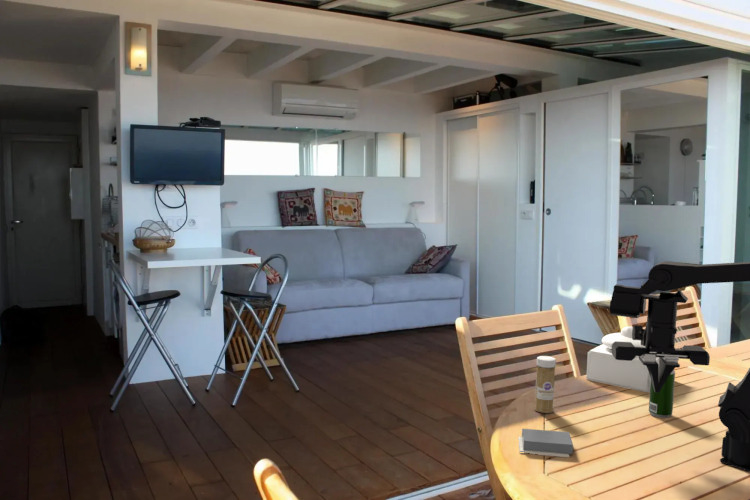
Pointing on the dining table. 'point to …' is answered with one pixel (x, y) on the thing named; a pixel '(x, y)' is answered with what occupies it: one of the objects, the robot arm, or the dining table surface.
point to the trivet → (539, 451)
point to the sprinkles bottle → (545, 384)
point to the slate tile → (547, 441)
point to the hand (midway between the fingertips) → (656, 392)
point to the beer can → (662, 398)
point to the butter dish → (618, 364)
